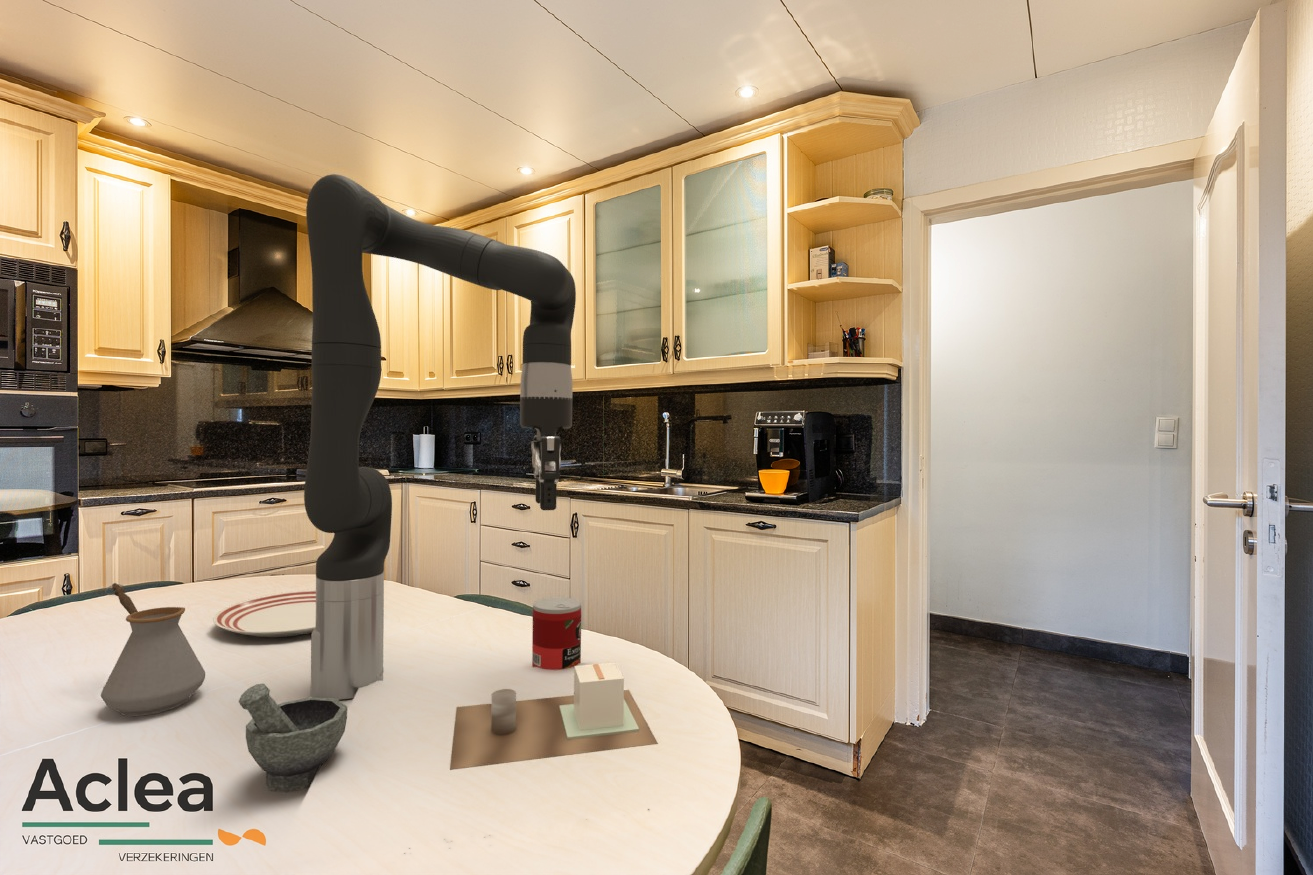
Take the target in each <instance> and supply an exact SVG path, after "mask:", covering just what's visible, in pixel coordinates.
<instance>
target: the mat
mask: <svg viewBox="0 0 1313 875" xmlns="http://www.w3.org/2000/svg"><path fill="white" fill-rule="evenodd" d="M559 708H560V712H561V716H562V720H563V724H564V728H565V731H566V735H567V739H568V740H570V739H578V738H587V737H595V736H603V735H612V734H620V733H629V732H637V731H639V728H638V726H637V724H636V722H635V720H634V718H633V716H632V714H631V712H630V710H629V708H628V706H627V704H626V702H625V700H624V711H623V725H622V726H613V727H604V728H595V729H586V730H579V727H578V723H577V720H576V717H575V713H574V704H569V705H560V706H559Z"/></svg>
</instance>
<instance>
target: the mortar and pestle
mask: <svg viewBox="0 0 1313 875" xmlns="http://www.w3.org/2000/svg"><path fill="white" fill-rule="evenodd" d="M270 692H271V690H270V688H269V687H268V686H267V685H266V684H265V683H258V684H255V685H252V686H250V687H249V688H247V689H246V690H245V691H244V692H243V693H242V694H241V695H240V697H239V699H238V703H239V705H240V706H241V707H242V709H243V710H247V712H248V713H249V715H250V717H251V719H250V720H249V722H248V723H246V725H245V740H246V745H247V750H248V753H249V754H250V755H251V757H252V758H253V760H254V761H255V763H257V766H259V767H260V769H261V770H262V771H263V772H265V773H266V775H265V781H264V782H265V783H264V785H265V786H266V787H267V788H268V789H269V790H270V792H281V793H289V792H294V791H299V790H303V789H308V788H310V787H311V786H312V784H313V781H314V780H315V778H316V776H317V774H318V771H319V770H320V767H321V766H323V764H324V763H325V762H326V761H327V760H328V759H329V758H330V757H331V756H332V755H333V753H334V752H335V750H336V748H337V747H338V745H339V743H340V741H341V740H342V737H343V735H344V733H345V731H346V727H347V726H346V725H347V719H348V706H347V705H346V704H344V703H343V702H342V701H341V700H338V699H335V698H318V697H311V696H310V697H306V698H302V699H301V698H300V699H294V700H290V701H285V702H281V703H279V704H278V703H277V702H276V701H275V700H274V699H273V697H272V696H271V694H270Z"/></svg>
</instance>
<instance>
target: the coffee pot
mask: <svg viewBox="0 0 1313 875" xmlns="http://www.w3.org/2000/svg"><path fill="white" fill-rule="evenodd" d="M121 587H122V588H121ZM110 588H112V590H113V591H114V593H113V594H112V593H107V591H108V590H109V589H110ZM104 594H106V595H108V596H115V597H118V600H119V603H120V604H121V606H122V607H123V608H124V609H125V610H126V612H127V613H128V615H127V616H126V617H125V621H126V622H128V623H129V625H130V628H131V632H130V635H129V637H128V639H127V641H126V643H125V645H124V646H123V649H122V651H121V653H120V655H119V657H118V658H117V660H116V663H115V664H114V667H113V669H112V671H111V673H110V675H109V677H108V679H107V681H106V682H105V684H104V686H103V688H102V690H101V693H100V697H101V699H102V701H103V702H104V704H105V705H106V706H107V707H109V708H110V709H112V710H114V711H116V712H119V714H120V715H122V716H128V717H140V716H148V715H153V714H158V713H162V712H165V711H168V710H169V711H170V710H171V709H174V708H177V707H179V706H181V705H183V704H185V703H186V702H187V701H188V700H189V699H190V697H191V696H193V695H194V694H195V693H196V692H197V691H198V690H199V688H201V687H202V685H203V683H204V681H205V679H206V671H205V669H204V667H203V665H202V664H201V662H200V660H199V658H198V657H197V655H196V654H195V651H194V650H193V648H192V645H191V644H190V642H189V641H188V639H187V637H186V636H185V634H184V632H183V630H182V629H181V627H180V625H179V623H180V620H181V617H182V615H183V614H184V613H185V611H186V608H185V607H183V606H182V607H180V606H179V607H178V606H165V607H154V608H149V609H145V610H140V611H139V610H138V609H137V607H136V606H135V604H134V603H133V601H132V598H131V596H129V595H128V594H126V590H125V587H124V585H122V584H118V583H116V582H114V583H112V585H109V586H108V587H106V589H105V590H104Z"/></svg>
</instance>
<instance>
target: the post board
mask: <svg viewBox="0 0 1313 875" xmlns="http://www.w3.org/2000/svg"><path fill="white" fill-rule="evenodd" d="M624 700H625V702H626V704H627V706H628V708H629V710H630V712H631V714H632V716H633V718H634V720H635V722H636V724H637V726H638V728H639V731H637V732H629V733H620V734H612V735H603V736H595V737H587V738H578V739H570V740H568V739H567V735H566V731H565V728H564V724H563V720H562V716H561V712H560V708H559V706H560V705H569V704H574V694H573V695H564V696H553V697H543V698H535V699H534V698H533V699H523V700H522V699H521V700H517V691H515V690H513V689H511V688H503V689H498V690H495V691H494V692H492V694H491V703H484V704H483V703H481V704H476V705H474V704H473V705H465V706H464V705H463V706H456V709H455V720H454V730H453V736H452V737H453V738H452V747H451V754H450V756H451V757H450V764H449V771H452V770H453V771H454V770H462V769H468V768H475V767H477V768H478V767H484V766H485V767H486V766H493V765H499V764H508V763H509V764H510V763H516V762H517V763H518V762H524V761H533V760H538V759H540V760H542V759H547V758H548V759H549V758H555V757H562V756H563V757H564V756H573V755H581V754H589V753H596V752H603V751H612V750H619V749H621V750H622V749H625V748H626V749H628V748H635V747H642V746H643V747H644V746H653V745H658V744H659V743H658V740H657V738H656V737H655V735H654V734H653V732H652V729H651V728H650V726H649V724H648V722H647V721H646V719H645V716H644V715H643V713H642V711H641V709H640V707H639V706H638V704H637V702H636V700H635V699H634V697H633V695H632V693H631V691H630V690H629V689H624Z"/></svg>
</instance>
